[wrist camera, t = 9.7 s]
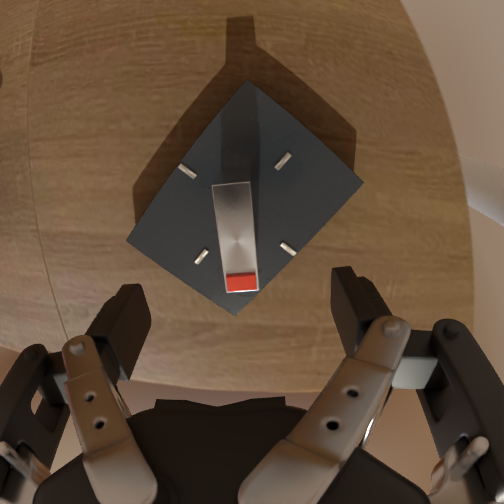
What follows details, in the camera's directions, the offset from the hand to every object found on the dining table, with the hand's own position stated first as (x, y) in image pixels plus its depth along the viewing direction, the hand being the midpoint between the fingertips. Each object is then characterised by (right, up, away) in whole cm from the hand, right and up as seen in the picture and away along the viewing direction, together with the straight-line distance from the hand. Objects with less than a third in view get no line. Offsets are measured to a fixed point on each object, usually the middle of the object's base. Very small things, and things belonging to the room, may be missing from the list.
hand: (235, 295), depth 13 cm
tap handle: (0, +5, +9) cm, 10 cm away
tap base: (0, +6, +12) cm, 13 cm away
